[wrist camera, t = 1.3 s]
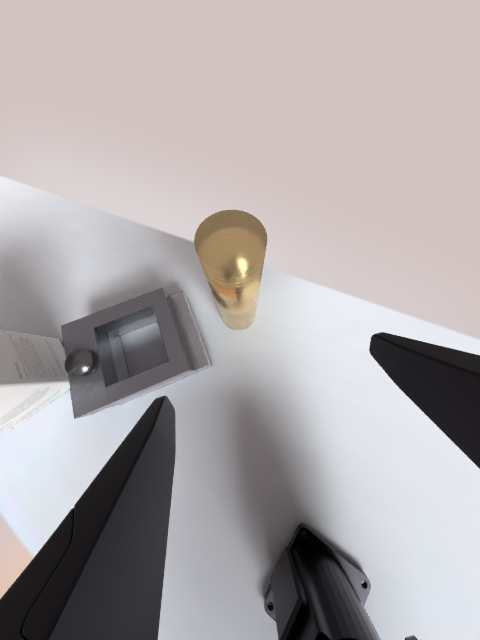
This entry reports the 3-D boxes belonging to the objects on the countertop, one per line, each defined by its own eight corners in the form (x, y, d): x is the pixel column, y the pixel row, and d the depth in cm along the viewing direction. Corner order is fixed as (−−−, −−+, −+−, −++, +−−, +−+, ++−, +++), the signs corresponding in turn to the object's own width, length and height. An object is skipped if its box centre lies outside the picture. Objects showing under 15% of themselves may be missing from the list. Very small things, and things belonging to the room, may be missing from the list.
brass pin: (261, 309, 23) (280, 229, 10) (242, 336, 22) (240, 284, 10) (234, 292, 24) (222, 199, 11) (215, 318, 23) (179, 247, 10)
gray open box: (187, 297, 24) (174, 279, 19) (212, 365, 21) (203, 363, 17) (92, 334, 22) (55, 324, 18) (106, 410, 20) (68, 420, 16)
